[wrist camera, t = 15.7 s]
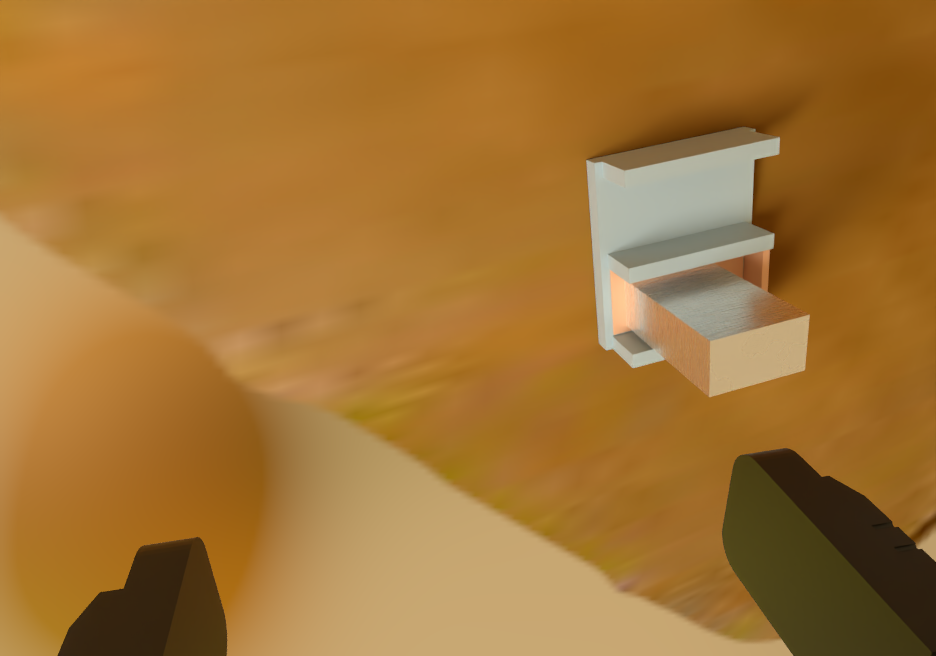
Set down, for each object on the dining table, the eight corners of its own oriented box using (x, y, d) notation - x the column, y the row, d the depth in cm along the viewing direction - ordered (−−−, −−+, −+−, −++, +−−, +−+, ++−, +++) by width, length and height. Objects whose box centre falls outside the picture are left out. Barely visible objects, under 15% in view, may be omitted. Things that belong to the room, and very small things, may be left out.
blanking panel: (626, 325, 46) (709, 397, 37) (624, 278, 44) (710, 341, 35) (705, 305, 47) (804, 370, 38) (705, 258, 45) (809, 314, 36)
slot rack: (598, 343, 47) (625, 370, 43) (586, 159, 41) (616, 172, 38) (737, 307, 49) (775, 330, 45) (744, 126, 43) (787, 135, 40)
